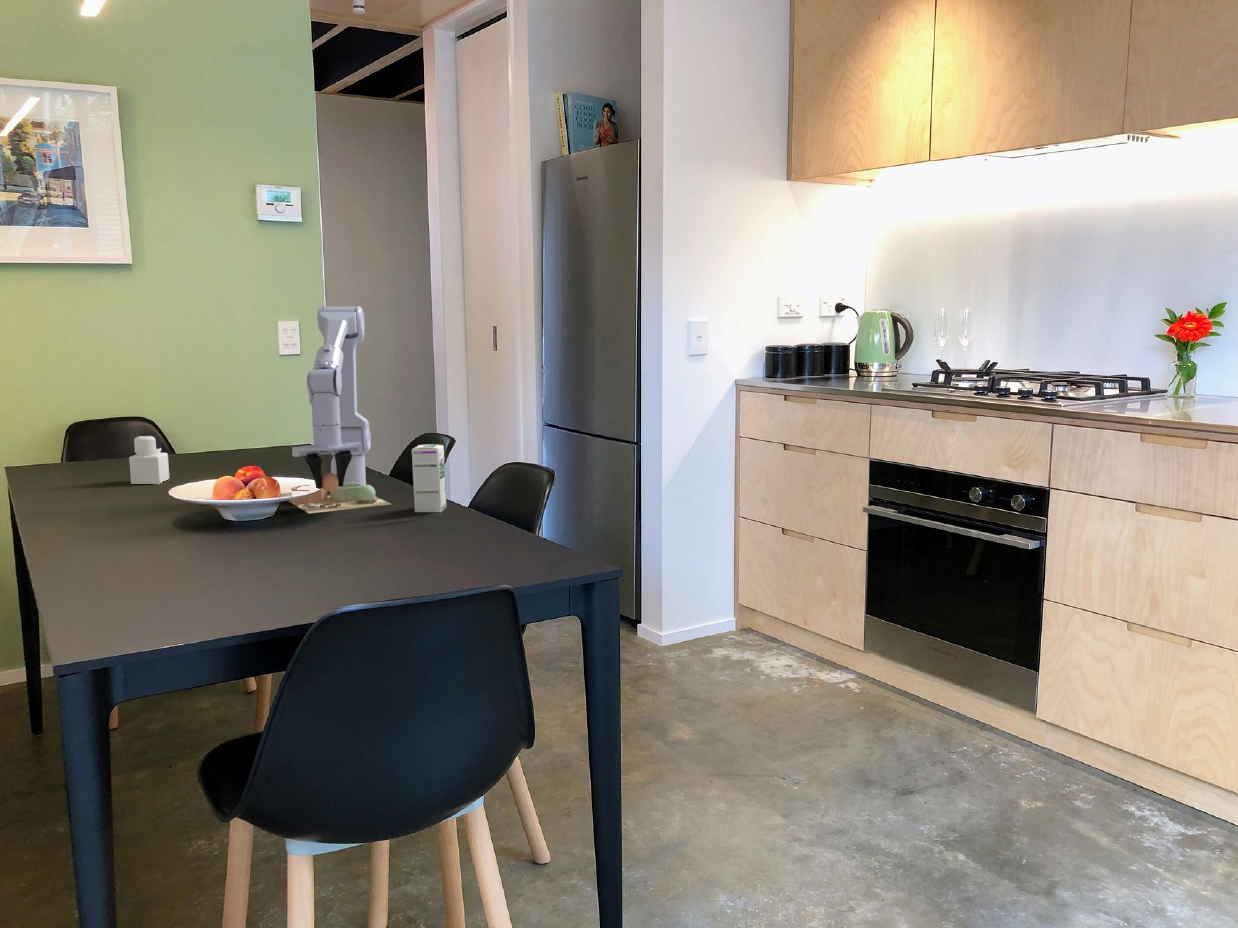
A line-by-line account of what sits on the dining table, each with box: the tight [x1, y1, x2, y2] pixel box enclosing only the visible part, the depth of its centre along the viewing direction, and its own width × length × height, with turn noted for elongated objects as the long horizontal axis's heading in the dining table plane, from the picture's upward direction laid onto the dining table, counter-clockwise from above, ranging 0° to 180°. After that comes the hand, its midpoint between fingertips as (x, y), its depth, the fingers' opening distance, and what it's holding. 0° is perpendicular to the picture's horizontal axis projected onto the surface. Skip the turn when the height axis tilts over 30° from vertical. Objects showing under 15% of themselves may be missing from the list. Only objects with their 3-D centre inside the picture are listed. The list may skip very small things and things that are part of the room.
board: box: [288, 495, 392, 514], centre depth 216 cm, size 18×18×1 cm
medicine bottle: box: [128, 434, 170, 485], centre depth 246 cm, size 7×7×12 cm
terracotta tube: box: [290, 484, 329, 504], centre depth 217 cm, size 7×7×3 cm
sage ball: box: [357, 484, 376, 502], centre depth 215 cm, size 4×4×4 cm
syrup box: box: [411, 443, 447, 516], centre depth 206 cm, size 6×6×14 cm
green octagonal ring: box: [329, 483, 364, 502], centre depth 220 cm, size 7×7×3 cm
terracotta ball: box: [321, 472, 339, 492], centre depth 210 cm, size 4×4×4 cm
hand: (329, 487), depth 210 cm, fingers closed on terracotta ball, 4 cm apart
